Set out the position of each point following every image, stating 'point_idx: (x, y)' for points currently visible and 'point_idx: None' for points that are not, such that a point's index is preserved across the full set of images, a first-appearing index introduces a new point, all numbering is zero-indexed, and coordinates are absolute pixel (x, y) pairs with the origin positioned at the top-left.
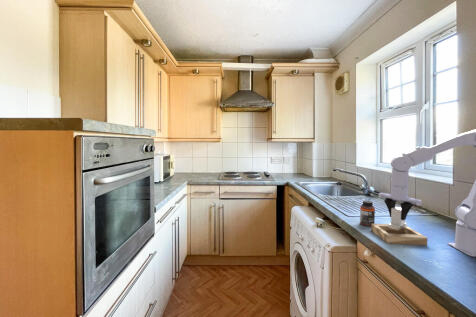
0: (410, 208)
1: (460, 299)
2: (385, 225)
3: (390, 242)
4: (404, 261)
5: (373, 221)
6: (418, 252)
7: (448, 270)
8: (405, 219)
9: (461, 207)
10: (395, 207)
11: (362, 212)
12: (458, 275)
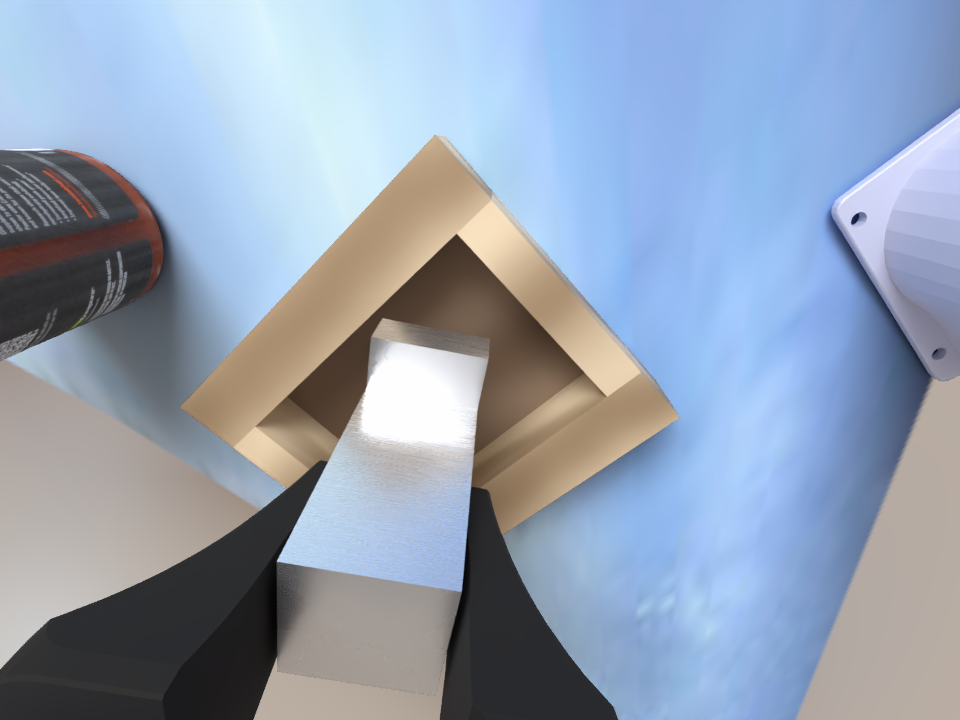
0: (555, 645)
1: None
2: (294, 356)
3: None
4: None
5: (127, 262)
6: (608, 541)
7: (741, 639)
8: (489, 495)
9: None
10: (304, 612)
11: None
12: (775, 654)
